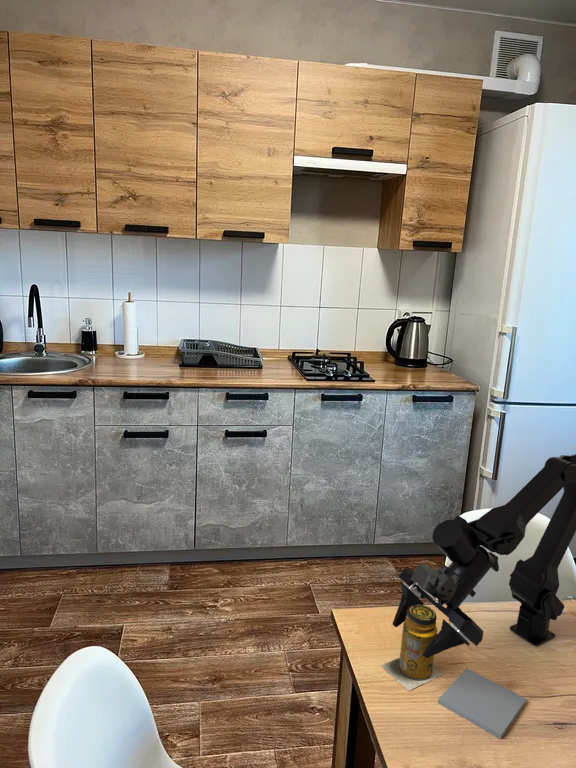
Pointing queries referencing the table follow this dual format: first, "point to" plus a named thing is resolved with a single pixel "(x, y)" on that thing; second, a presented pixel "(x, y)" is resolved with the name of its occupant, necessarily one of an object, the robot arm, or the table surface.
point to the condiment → (415, 649)
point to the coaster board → (482, 702)
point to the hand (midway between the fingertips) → (408, 640)
